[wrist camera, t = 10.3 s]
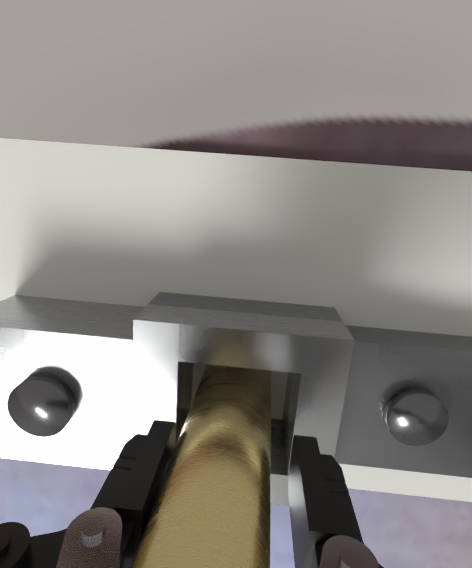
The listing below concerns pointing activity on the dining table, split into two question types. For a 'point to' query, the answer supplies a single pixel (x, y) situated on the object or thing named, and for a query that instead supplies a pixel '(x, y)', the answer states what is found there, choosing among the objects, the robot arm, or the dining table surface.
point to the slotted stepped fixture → (236, 353)
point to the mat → (244, 243)
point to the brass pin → (216, 479)
